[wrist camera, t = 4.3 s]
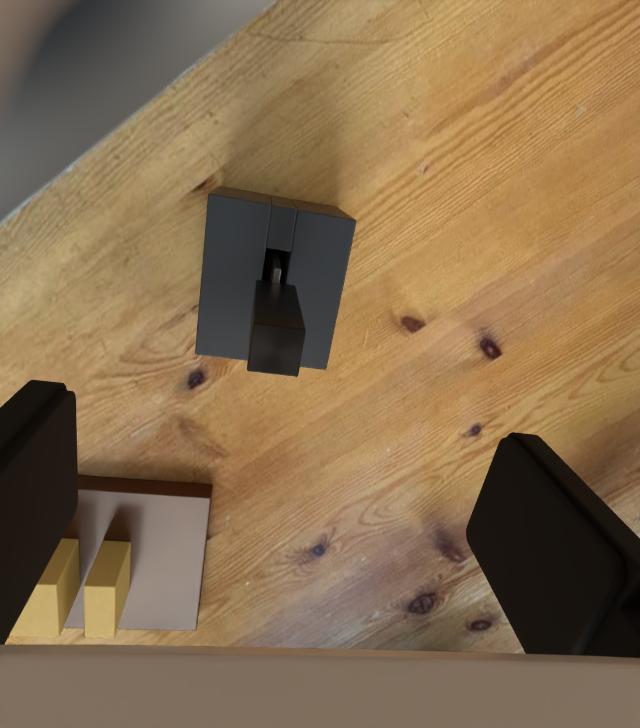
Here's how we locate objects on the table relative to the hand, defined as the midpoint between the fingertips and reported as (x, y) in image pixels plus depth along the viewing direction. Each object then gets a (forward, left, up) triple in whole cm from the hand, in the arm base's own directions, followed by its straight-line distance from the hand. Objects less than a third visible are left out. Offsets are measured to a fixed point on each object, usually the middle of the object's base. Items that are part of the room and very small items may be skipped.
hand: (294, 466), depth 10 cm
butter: (-14, -24, -19) cm, 34 cm away
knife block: (0, 0, -20) cm, 20 cm away
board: (-12, -24, -20) cm, 34 cm away
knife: (0, 0, -20) cm, 20 cm away
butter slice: (-9, -24, -19) cm, 32 cm away
